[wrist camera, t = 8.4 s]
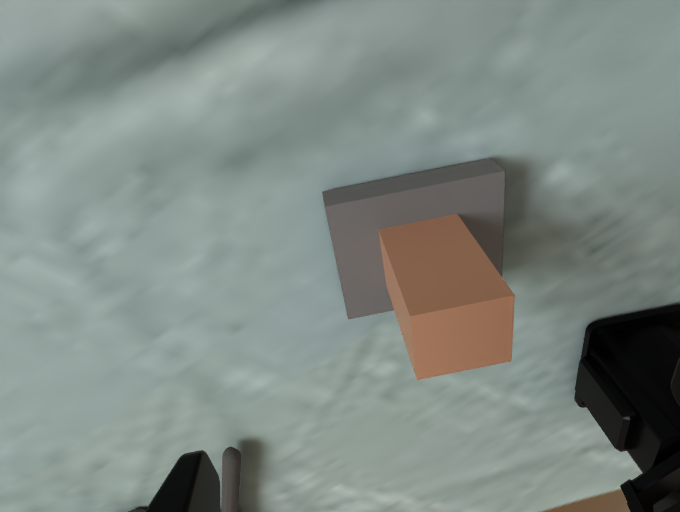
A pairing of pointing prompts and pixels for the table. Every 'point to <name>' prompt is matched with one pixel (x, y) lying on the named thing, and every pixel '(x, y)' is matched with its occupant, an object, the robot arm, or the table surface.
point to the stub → (429, 262)
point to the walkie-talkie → (227, 480)
